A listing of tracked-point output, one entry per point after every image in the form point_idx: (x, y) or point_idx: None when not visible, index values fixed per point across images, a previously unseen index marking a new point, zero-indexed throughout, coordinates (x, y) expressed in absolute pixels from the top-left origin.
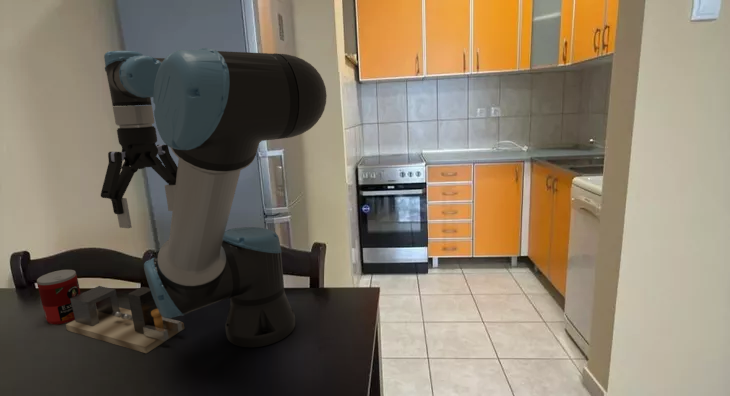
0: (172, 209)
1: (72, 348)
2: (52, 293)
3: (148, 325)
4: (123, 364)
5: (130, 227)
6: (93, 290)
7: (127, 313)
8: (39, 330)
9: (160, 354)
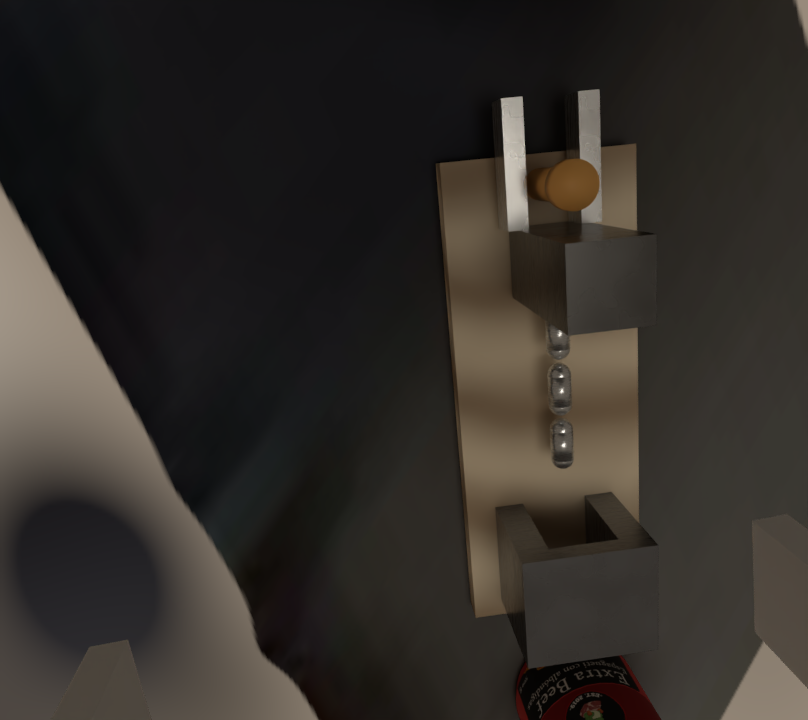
0: (139, 711)
1: (696, 439)
2: None
3: (583, 212)
4: (701, 161)
5: (768, 519)
6: (569, 642)
7: (489, 469)
8: (663, 662)
9: (607, 83)
